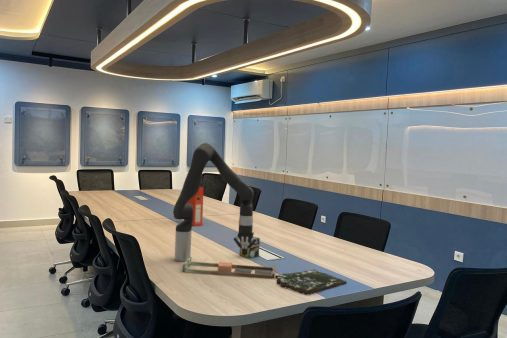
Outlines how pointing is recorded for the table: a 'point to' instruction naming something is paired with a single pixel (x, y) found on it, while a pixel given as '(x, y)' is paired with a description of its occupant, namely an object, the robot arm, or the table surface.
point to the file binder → (197, 207)
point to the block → (225, 266)
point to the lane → (239, 271)
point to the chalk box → (252, 248)
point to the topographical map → (308, 281)
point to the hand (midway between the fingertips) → (244, 255)
